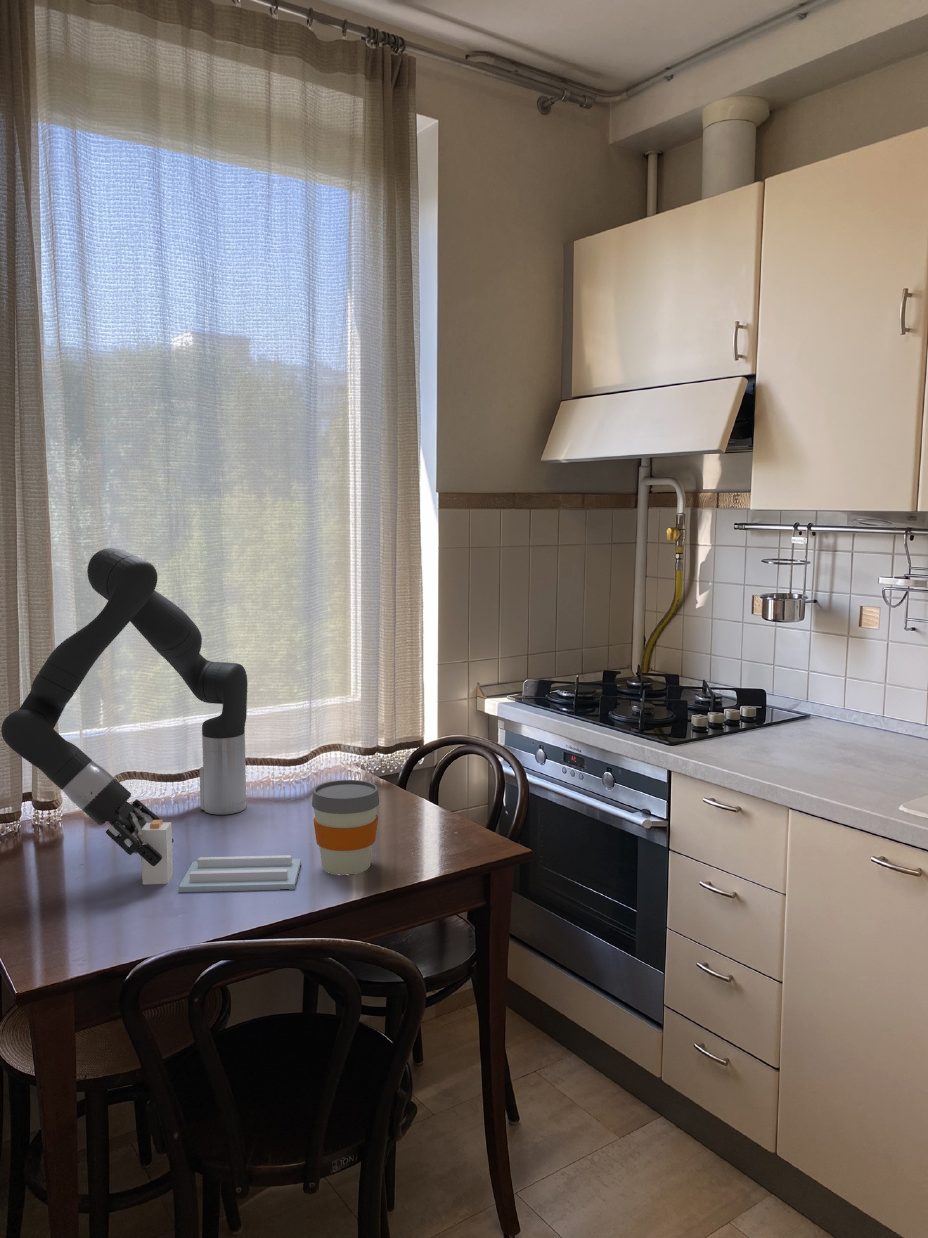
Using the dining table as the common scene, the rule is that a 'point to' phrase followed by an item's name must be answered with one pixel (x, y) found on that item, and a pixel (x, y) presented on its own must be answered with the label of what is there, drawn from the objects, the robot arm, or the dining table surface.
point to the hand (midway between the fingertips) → (164, 853)
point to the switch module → (162, 843)
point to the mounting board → (241, 873)
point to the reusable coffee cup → (345, 824)
